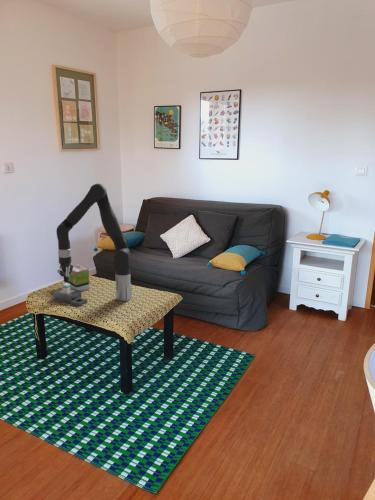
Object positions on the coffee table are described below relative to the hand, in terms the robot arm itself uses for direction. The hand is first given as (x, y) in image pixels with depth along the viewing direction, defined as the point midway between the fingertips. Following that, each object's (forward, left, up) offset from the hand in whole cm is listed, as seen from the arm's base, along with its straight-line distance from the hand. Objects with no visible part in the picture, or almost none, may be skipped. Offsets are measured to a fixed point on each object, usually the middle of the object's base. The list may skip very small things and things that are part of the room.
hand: (66, 281), depth 243 cm
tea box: (+6, -19, -12) cm, 23 cm away
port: (0, 0, -12) cm, 12 cm away
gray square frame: (-11, +3, -12) cm, 16 cm away
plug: (0, 0, -11) cm, 11 cm away
